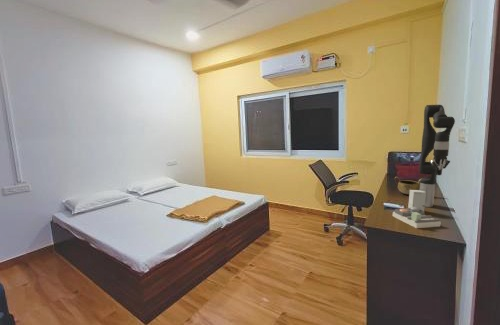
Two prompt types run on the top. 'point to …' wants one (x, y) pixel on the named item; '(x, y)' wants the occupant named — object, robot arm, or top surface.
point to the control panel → (423, 223)
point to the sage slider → (415, 216)
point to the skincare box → (417, 199)
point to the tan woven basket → (407, 185)
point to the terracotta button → (403, 210)
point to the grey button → (415, 209)
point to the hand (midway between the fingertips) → (438, 175)
